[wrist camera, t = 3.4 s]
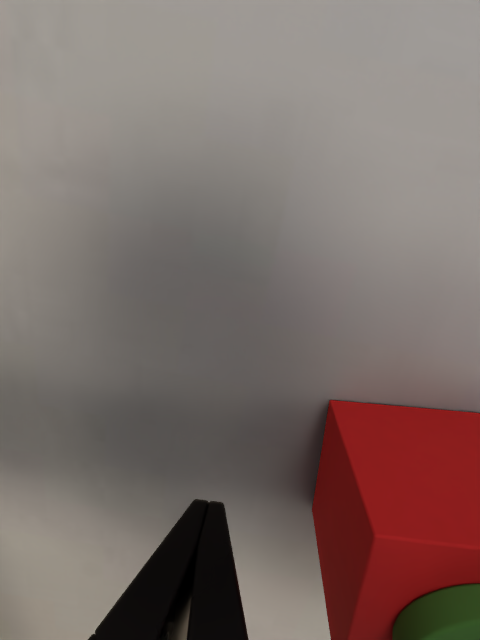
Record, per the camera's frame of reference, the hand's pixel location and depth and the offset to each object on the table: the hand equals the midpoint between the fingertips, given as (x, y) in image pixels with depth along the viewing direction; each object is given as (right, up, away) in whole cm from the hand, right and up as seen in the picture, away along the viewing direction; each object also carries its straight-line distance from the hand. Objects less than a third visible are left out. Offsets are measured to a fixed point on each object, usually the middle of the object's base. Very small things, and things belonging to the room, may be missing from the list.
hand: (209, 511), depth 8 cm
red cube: (+6, 0, +2) cm, 6 cm away
